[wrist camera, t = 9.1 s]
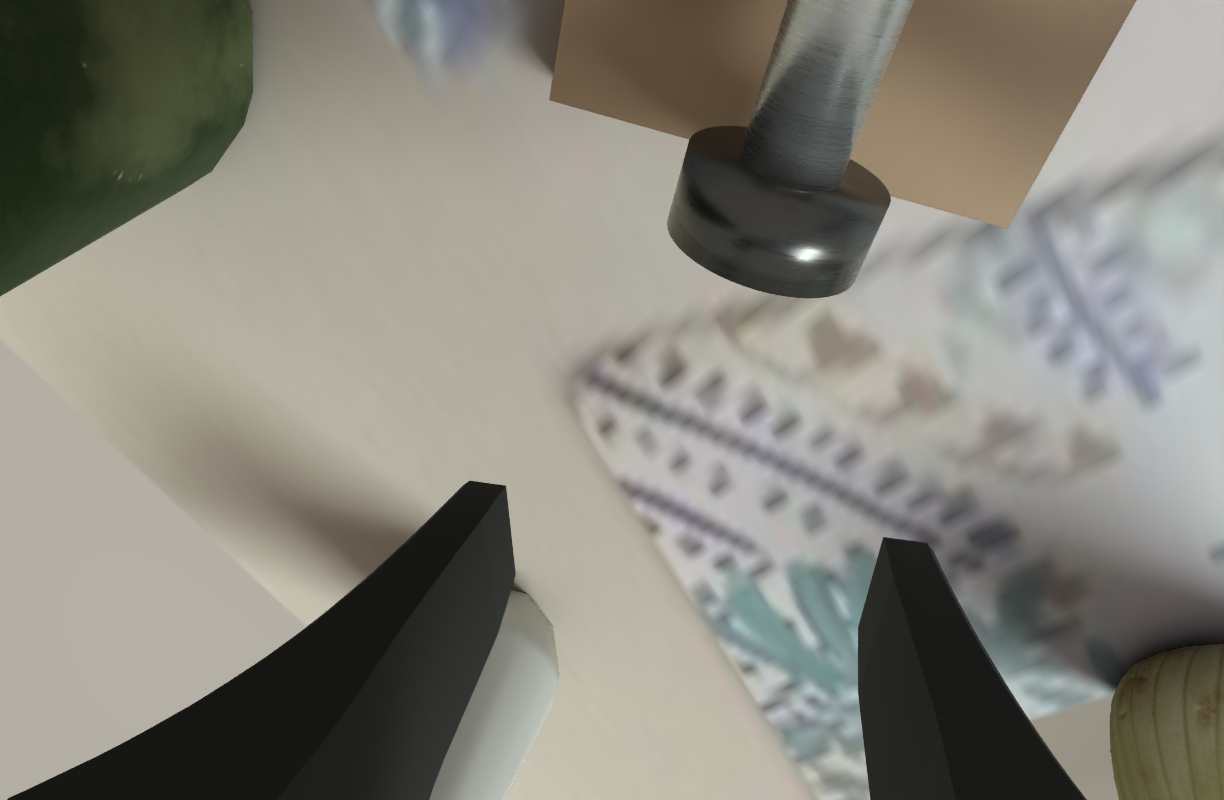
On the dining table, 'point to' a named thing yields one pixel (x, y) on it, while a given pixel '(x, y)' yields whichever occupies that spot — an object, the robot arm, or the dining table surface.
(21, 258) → the green bottle
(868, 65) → the shaft
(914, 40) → the shaft bracket
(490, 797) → the salt shaker
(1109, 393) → the dining table surface
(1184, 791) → the fennel bulb
